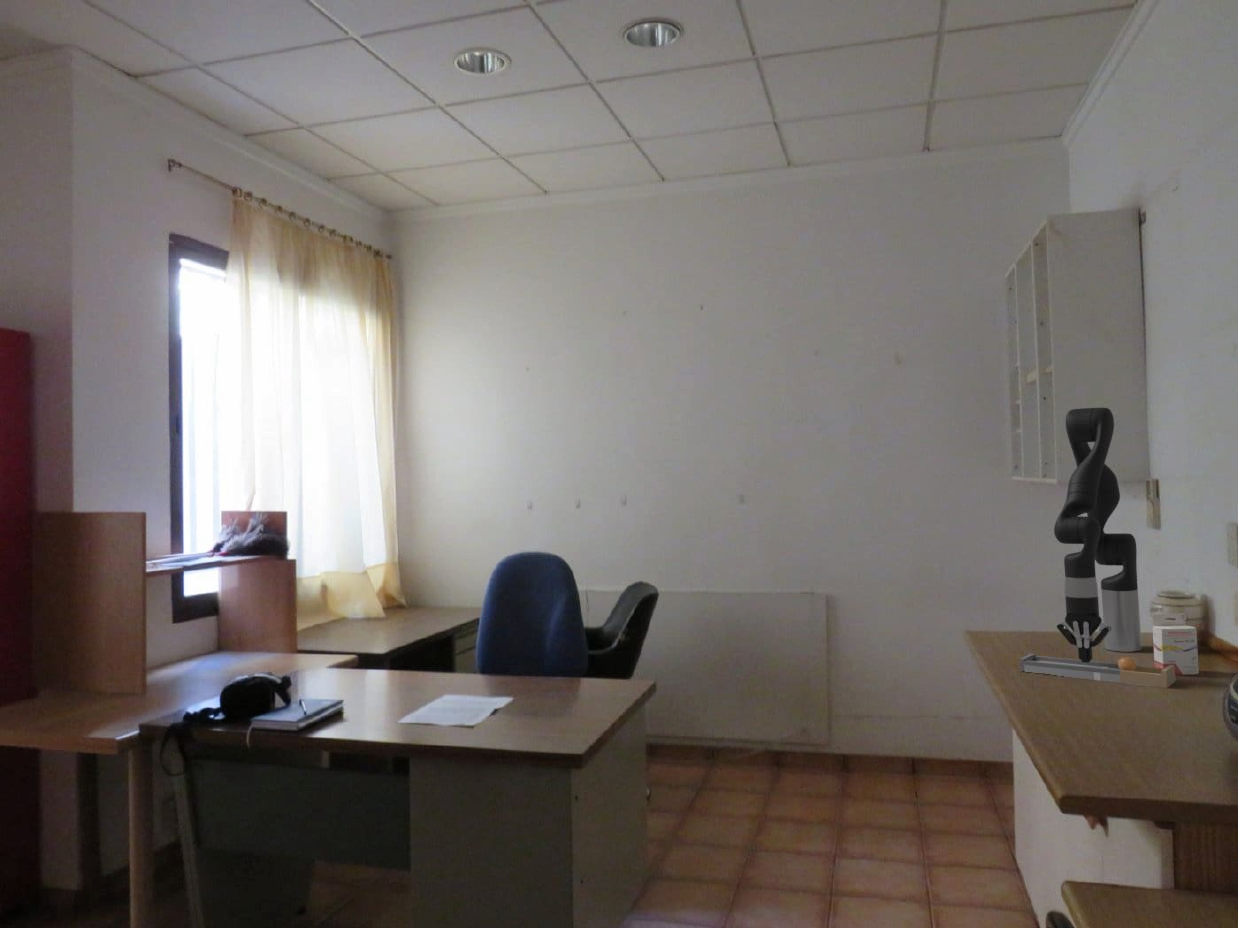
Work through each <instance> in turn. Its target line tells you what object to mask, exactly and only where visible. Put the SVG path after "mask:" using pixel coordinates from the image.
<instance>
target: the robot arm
mask: <svg viewBox="0 0 1238 928" xmlns="http://www.w3.org/2000/svg"><path fill="white" fill-rule="evenodd" d="M1114 429H1115V419H1114V415H1113V413H1112V410H1111V409H1110V408H1109V407H1088V408H1087V407H1086V408H1074V409H1070V410H1069V411H1068V412H1067V413H1066V415H1065V430H1066V434H1067V438H1068V441H1069V444H1070V447H1071V450H1072V454H1073V457H1074V460H1075V464H1076V468H1075V469H1074V470H1073V472H1072V474H1071V476H1070V478H1069V481H1068V487H1067V493H1066V500H1065V503H1064V505H1063V507H1062V510H1061V511H1060V512H1059V515H1058V516H1057V518H1056V521H1055V524H1054V527H1053V532H1054V537H1055V539H1056V541H1058V542H1059V543H1061V544H1063V545H1064V544H1065V545H1083V547H1082V549H1081V550H1080V551H1078V552H1077V551H1076V552H1072V553H1067V554H1066V555H1065V556H1064V558H1063V559H1064V560H1063V562H1064V563H1063V564H1064V565H1063V566H1064V595H1065V596H1064V597H1065V599H1064V600H1065V612H1066V615H1065V617H1064V621H1062V622H1061V623H1058V624H1057V625H1056V628H1057V629H1058V631H1059V632H1060V634H1062V635H1063V637H1064V639H1066V641H1068V643H1069V644H1070V645H1074V646H1076V647H1077V650H1078V660H1081V661H1082V662H1085V663H1089V662H1090V661H1093V647H1097V646H1099V645H1100V644H1101V643H1102V641H1103V640H1104V648H1105V650H1108V651H1114V652H1122V653H1123V652H1126V653H1127V652H1139V651H1142V649H1143V648H1142V635H1141V634H1142V633H1141V623H1140V622H1141V619H1140V605H1139V604H1140V603H1139V589H1138V588H1139V587H1138V571H1137V570H1138V569H1137V567H1138V566H1137V542H1136V538H1135V537H1134V535H1133V534H1132V533H1124V532H1123V533H1106V532H1105V530H1104V528H1105V526H1106V524H1107V522H1108V520H1109V519H1110V517H1111V515H1112V514H1113V512H1114V511H1115V510H1116V508H1117V507H1118V504H1119V503H1120V499H1121V494H1120V492H1121V491H1120V488H1119V483H1118V478H1117V475H1116V474H1115V473H1114V471H1113V470H1112V469H1111V468H1110V467H1109V466H1108V465H1107V464H1106V463H1105V462H1106V459H1107V457H1108V452H1109V450H1110V446H1111V442H1112V439H1113V435H1114ZM1089 443H1094V444H1093V446H1092V448H1091V446H1090V445H1089ZM1083 514H1086V515H1087V516H1081V515H1083ZM1096 563H1097V564H1098V565H1101V566H1118V567H1119V566H1120V567H1121V566H1122V570H1121V571H1120V572H1118V573H1116V574H1114V575H1110V576H1107V577H1104V578H1102V579H1100V580H1101V581H1100V588H1101V590H1100V591H1101V603H1102V604H1101V605H1102V618H1103V619H1102V618H1101V616H1100V607H1099V606H1100V603H1099V588H1098V582H1097V577H1096V575H1097V574H1096ZM1069 628H1070V629H1071V630H1072V632H1071V630H1070V629H1069ZM1097 630H1098V632H1099V634H1098V635H1097V636H1095V638H1094V639H1093V637H1094V633H1095V632H1096V631H1097ZM1073 633H1074V634H1073Z"/></svg>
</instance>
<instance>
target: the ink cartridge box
mask: <svg viewBox="0 0 1238 928" xmlns="http://www.w3.org/2000/svg"><path fill="white" fill-rule="evenodd" d="M1152 615H1153V616H1152V619H1153V621H1152V624H1153V625H1152V641H1153V657H1154V659H1153V660H1154V667H1158V668H1166V667H1167V666H1169V665H1175V676H1176V675H1179V674H1181V675H1199V673H1200V672H1199V653H1198V636H1197V635H1198V632H1197V628H1196V627H1195V626H1192V625H1188V624H1187V614H1186V613H1185V612H1182V613H1181V612H1180V613H1175V612H1174V613H1153V614H1152ZM1168 618H1171V619H1174V620H1165V619H1168ZM1179 676H1180V675H1179Z"/></svg>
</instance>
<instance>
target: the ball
mask: <svg viewBox="0 0 1238 928" xmlns="http://www.w3.org/2000/svg"><path fill="white" fill-rule="evenodd" d="M1117 664H1118V667H1119V668H1120V670H1126V671H1134V670H1135V669H1136V665H1137V662H1136V660H1135V659H1134V658H1132V657H1131V656H1128V655H1125V656H1122V657H1120V658H1119V660H1118V661H1117Z"/></svg>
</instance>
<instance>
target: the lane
mask: <svg viewBox="0 0 1238 928" xmlns="http://www.w3.org/2000/svg"><path fill="white" fill-rule="evenodd" d="M1019 664H1020V665H1019V666H1020V672H1021V671H1025V672H1033V673H1032V674H1034V673H1045V674H1051V675H1050V676H1052V675H1057V676H1056V677H1061V676H1064V678H1070V677H1071V678H1072V679H1080V680H1081V679H1082V680H1090V681H1099V682H1107V681H1108V682H1109V683H1117V684H1125V683H1126V684H1127V685H1136V686H1146V687H1155V688H1163V689H1168V688H1169V687H1170V686H1171V685H1173V684H1174V683H1176V682H1175V681H1176V675H1175V665H1169V666H1167V667H1166V668H1158V667H1155V666H1146V665H1137V664H1136V669H1135V670H1134V671H1126V670H1120V668H1119V667H1118V662H1117V663H1114V662H1105V661H1096V660H1095V661H1093V660H1090V662H1089V663H1085V662H1082V661H1081V660H1080V659H1074V658H1065V657H1064V658H1063V657H1061V658H1060V657H1052V656H1044V655H1042V656H1041V655H1036V653H1029V654H1027V655H1025V656H1023V657H1020V658H1019ZM1025 672H1024V673H1025ZM1126 684H1125V685H1126Z"/></svg>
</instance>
